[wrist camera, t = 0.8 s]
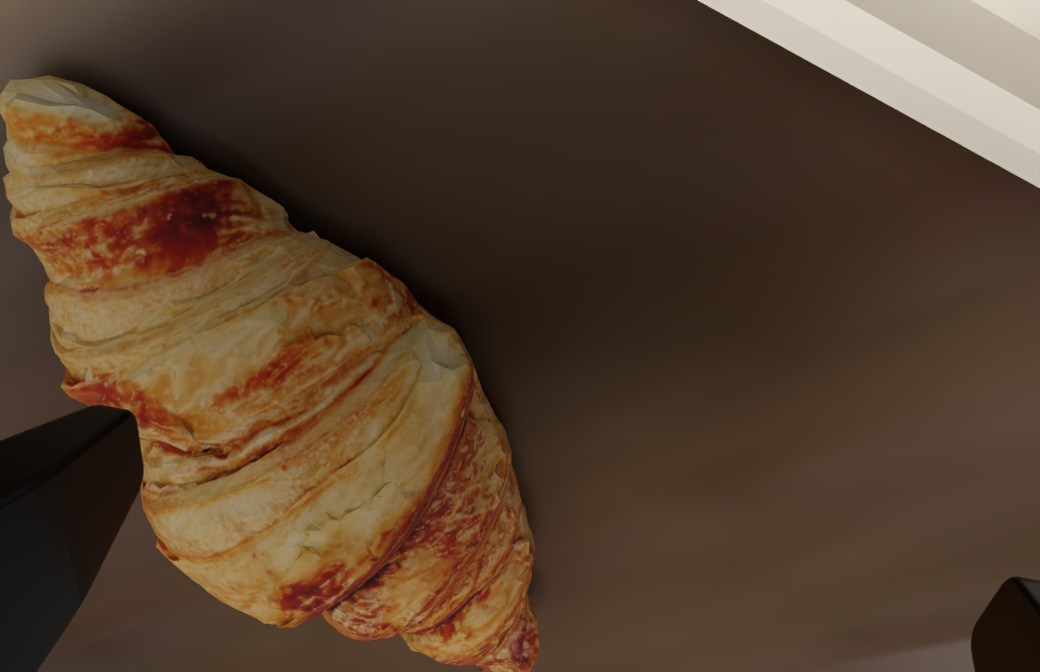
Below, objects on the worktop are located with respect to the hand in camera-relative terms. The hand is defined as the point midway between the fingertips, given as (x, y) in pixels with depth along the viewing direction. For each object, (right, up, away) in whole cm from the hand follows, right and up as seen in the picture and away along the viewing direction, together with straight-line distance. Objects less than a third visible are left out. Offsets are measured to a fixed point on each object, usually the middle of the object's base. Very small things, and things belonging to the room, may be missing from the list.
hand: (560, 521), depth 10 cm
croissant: (-6, +1, +17) cm, 18 cm away
